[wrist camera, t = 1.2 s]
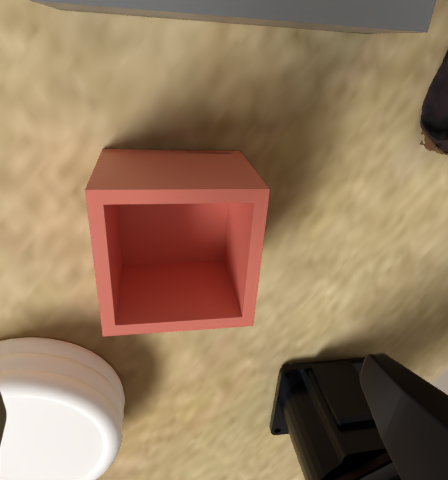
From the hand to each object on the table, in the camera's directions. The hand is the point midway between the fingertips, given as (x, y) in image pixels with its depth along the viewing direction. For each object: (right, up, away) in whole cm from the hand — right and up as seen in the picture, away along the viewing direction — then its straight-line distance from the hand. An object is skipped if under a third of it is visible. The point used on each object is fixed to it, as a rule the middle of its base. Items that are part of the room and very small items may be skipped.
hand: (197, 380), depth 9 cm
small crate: (-2, +5, +9) cm, 10 cm away
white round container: (-10, -6, +13) cm, 18 cm away
